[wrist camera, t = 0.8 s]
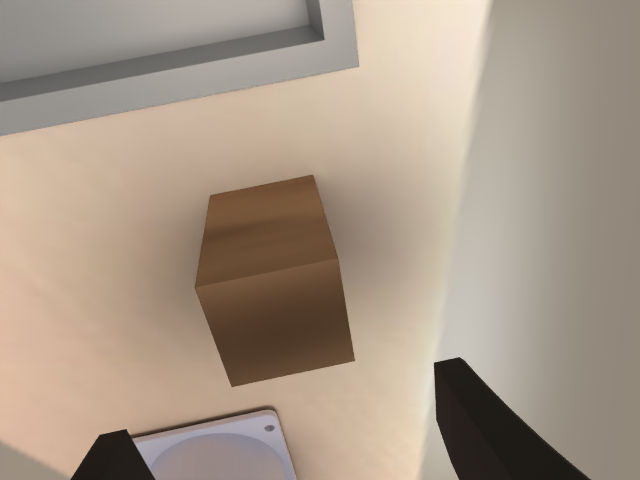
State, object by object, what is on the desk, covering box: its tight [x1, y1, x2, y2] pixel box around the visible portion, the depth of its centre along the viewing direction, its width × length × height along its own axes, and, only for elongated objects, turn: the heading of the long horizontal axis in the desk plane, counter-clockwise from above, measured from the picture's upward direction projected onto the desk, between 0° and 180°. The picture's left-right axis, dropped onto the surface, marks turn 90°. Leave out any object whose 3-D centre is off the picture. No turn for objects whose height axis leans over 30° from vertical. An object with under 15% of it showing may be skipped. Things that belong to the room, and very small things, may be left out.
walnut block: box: [195, 175, 355, 387], centre depth 17 cm, size 4×4×6 cm
